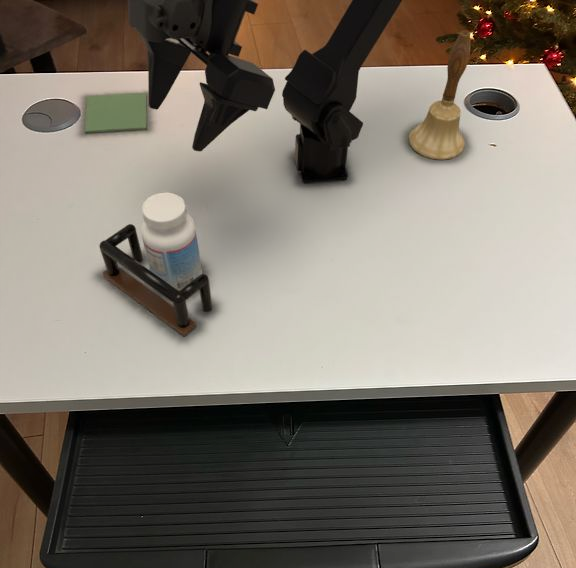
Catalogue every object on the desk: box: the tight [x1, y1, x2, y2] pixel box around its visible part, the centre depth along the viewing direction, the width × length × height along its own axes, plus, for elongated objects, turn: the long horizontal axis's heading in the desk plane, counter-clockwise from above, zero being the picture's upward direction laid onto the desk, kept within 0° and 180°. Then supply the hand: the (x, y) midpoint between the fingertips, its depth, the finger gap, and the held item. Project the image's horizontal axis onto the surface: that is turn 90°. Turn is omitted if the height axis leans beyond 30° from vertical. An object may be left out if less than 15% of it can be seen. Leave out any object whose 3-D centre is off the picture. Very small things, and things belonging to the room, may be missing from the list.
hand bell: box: [408, 30, 471, 161], centre depth 83 cm, size 8×8×16 cm
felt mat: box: [84, 92, 148, 134], centre depth 92 cm, size 9×9×1 cm
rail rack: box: [98, 223, 213, 337], centre depth 70 cm, size 5×14×6 cm, turn 50°
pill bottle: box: [140, 192, 203, 291], centre depth 69 cm, size 6×6×11 cm
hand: (174, 128), depth 66 cm, fingers open, 9 cm apart
